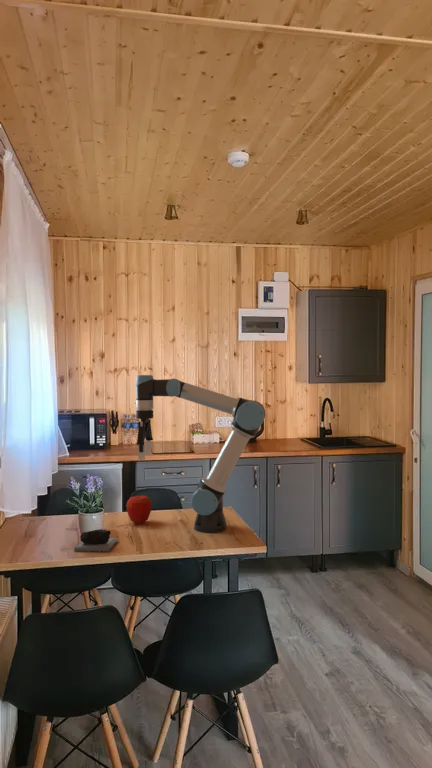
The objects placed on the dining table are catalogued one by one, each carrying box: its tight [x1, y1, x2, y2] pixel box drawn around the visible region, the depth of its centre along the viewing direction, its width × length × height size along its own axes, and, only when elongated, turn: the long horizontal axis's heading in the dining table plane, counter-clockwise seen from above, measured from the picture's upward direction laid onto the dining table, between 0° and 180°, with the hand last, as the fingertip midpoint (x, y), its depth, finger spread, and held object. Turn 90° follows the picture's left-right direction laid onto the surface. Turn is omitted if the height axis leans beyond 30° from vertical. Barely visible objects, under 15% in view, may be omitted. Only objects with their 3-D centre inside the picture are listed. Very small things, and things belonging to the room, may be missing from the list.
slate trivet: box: [74, 537, 118, 553], centre depth 234 cm, size 14×14×2 cm
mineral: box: [79, 528, 112, 545], centre depth 233 cm, size 10×9×6 cm
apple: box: [125, 494, 153, 525], centre depth 269 cm, size 12×12×14 cm
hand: (145, 457), depth 249 cm, fingers open, 13 cm apart
